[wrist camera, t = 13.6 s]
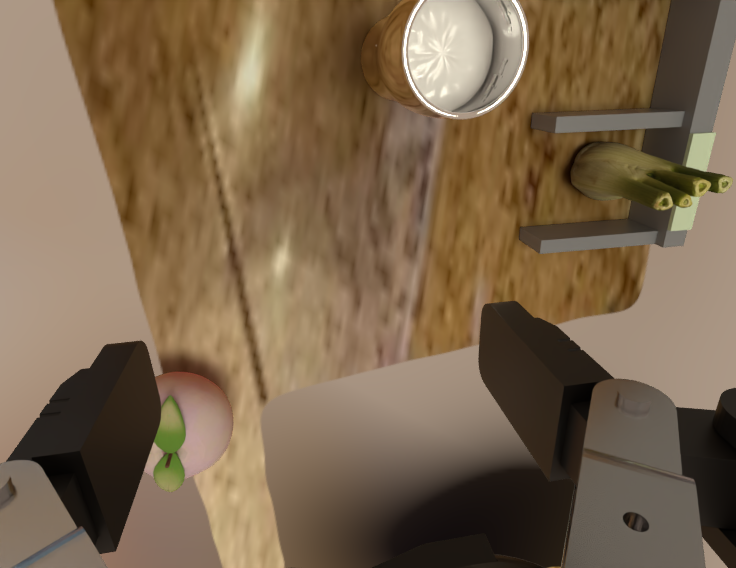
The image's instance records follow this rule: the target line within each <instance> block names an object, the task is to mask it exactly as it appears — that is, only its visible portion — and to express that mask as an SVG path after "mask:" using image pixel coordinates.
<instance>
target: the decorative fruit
mask: <svg viewBox="0 0 736 568" xmlns="http://www.w3.org/2000/svg"><path fill="white" fill-rule="evenodd" d="M155 380H156V384H157V388H158V391H159V395H160V400H161V421H160V425H159V428H158V431H157V434H156V437H155V440H154V443H153V446H152V449H151V451H150V454H149V457H148V460H147V463H146V466H145V469H144V471H145V472H146V473H148V474H149V475H151V476H153V477H154V479H155V482H156V483H157V485H158V486H159V487H160V488H162V489H163V490H165V491H168V492H173V491H175V490H177V489H178V488H179V487H180V486H181V485H182V483H183V481H184V479H186V478H189V477H191V476H194V475H196V474H198V473H200V472H202V471H204V470H206V469H208V468H209V467H211V466H212V465H214V464H215V463H216V462H217V461H218V460H219V459H220V458H221V456H222V455H223V454H224V452H225V451H226V449H227V447H228V445H229V442H230V439H231V435H232V431H233V413H232V408H231V405H230V402H229V400H228V398H227V396H226V395H225V394H224V392H223V391H222V390H221V389H220V388H219V387H218V386H217V385H216V384H214V383H213V382H212V381H210V380H208V379H207V378H205V377H203V376H200V375H197V374H194V373H189V372H169V373H165V374H162V375H159V376H157V377H155Z"/></svg>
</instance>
